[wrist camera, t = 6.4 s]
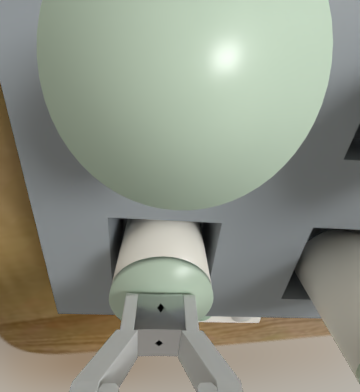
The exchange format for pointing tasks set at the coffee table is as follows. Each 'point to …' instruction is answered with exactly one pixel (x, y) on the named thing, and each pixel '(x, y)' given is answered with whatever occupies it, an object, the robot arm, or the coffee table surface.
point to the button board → (209, 217)
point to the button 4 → (335, 287)
